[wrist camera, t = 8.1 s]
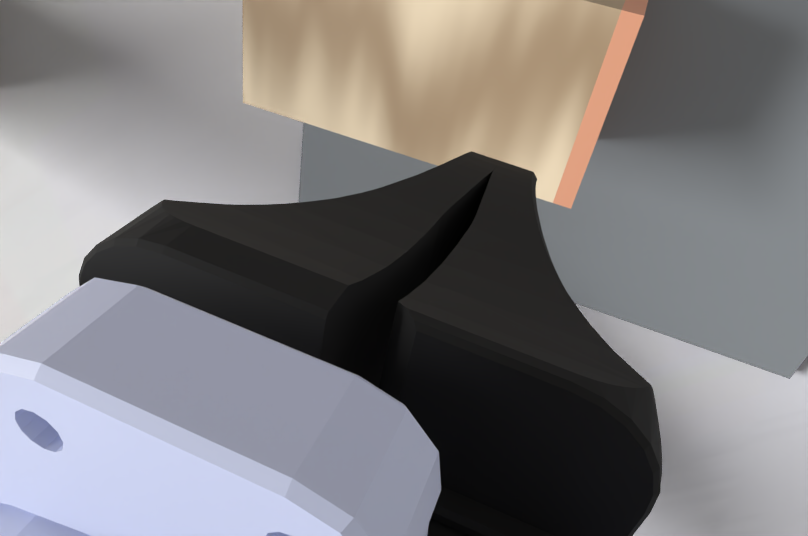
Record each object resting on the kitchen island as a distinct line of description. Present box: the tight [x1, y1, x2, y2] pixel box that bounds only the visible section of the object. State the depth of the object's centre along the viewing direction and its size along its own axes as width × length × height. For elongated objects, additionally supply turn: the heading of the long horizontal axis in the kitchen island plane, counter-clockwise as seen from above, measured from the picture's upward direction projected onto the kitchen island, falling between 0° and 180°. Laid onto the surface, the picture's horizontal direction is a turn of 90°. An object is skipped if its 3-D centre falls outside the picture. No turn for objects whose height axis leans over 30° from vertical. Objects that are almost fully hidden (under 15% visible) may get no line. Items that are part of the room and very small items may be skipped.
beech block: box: [243, 0, 648, 209], centre depth 18 cm, size 5×5×10 cm
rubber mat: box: [299, 0, 808, 379], centre depth 19 cm, size 18×20×1 cm
